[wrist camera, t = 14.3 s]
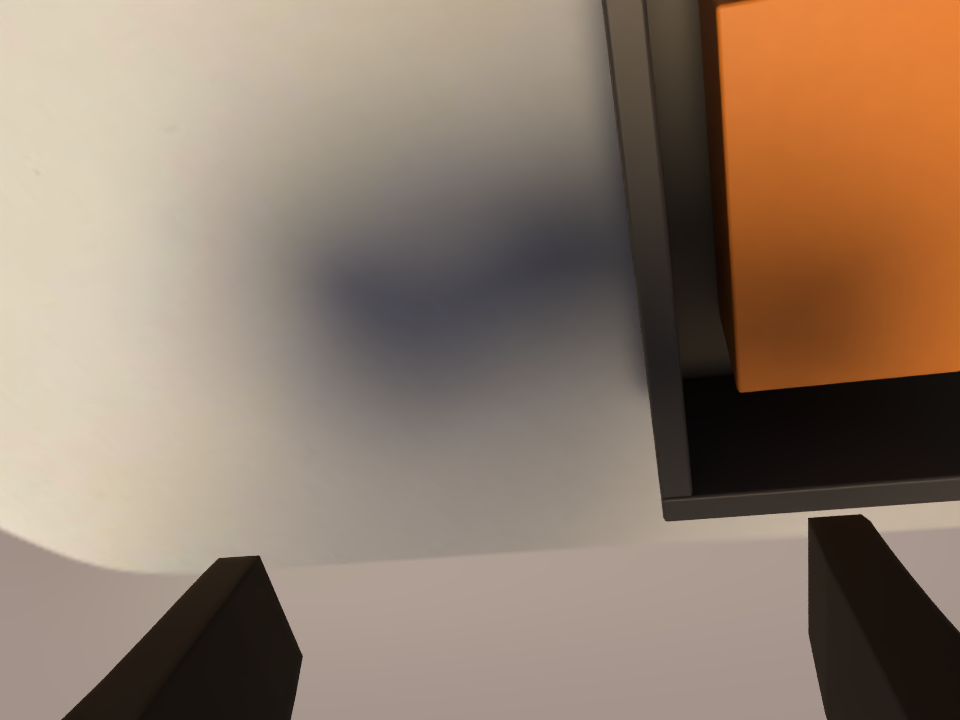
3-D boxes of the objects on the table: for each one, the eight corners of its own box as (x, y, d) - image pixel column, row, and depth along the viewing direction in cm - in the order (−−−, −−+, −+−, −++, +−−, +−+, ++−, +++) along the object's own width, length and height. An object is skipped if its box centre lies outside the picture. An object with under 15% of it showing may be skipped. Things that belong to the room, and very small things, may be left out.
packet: (941, -76, 15) (1011, -47, 12) (918, 292, 19) (968, 372, 16) (695, -30, 16) (715, 6, 13) (718, 315, 19) (737, 395, 17)
